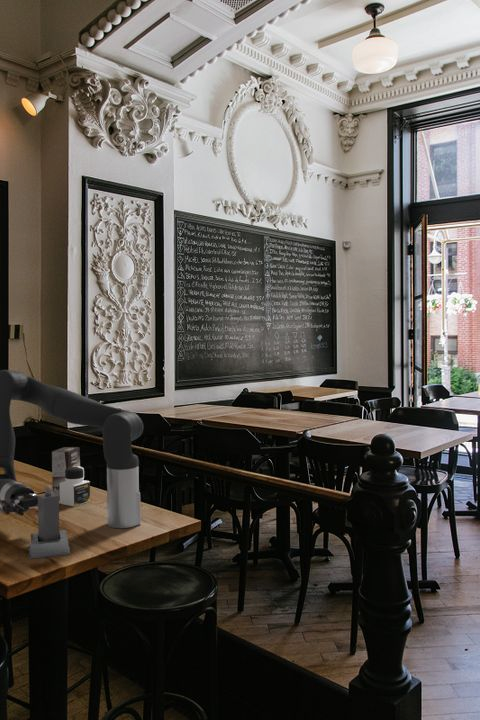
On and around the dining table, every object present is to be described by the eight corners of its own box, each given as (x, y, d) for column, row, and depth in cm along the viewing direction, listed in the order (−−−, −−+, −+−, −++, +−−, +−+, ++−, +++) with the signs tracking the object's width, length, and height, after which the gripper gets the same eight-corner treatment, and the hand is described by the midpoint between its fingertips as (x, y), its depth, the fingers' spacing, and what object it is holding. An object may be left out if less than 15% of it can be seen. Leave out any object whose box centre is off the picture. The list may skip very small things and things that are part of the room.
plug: (53, 544, 159) (52, 483, 158) (59, 548, 156) (58, 486, 155) (38, 548, 156) (37, 486, 155) (44, 552, 153) (43, 489, 152)
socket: (67, 541, 162) (67, 529, 162) (70, 554, 153) (70, 541, 153) (28, 545, 159) (28, 533, 159) (28, 559, 149) (28, 545, 149)
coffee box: (68, 498, 205) (68, 451, 204) (51, 497, 206) (51, 451, 206) (81, 491, 214) (80, 446, 213) (64, 490, 215) (63, 446, 215)
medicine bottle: (74, 507, 195) (73, 470, 194) (59, 503, 198) (58, 468, 198) (90, 501, 201) (90, 466, 200) (75, 498, 204) (75, 464, 204)
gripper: (-9, 487, 169) (11, 499, 156) (40, 479, 178) (63, 490, 165) (-8, 513, 169) (11, 528, 156) (41, 504, 178) (63, 517, 166)
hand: (38, 508), depth 161 cm, fingers open, 8 cm apart
